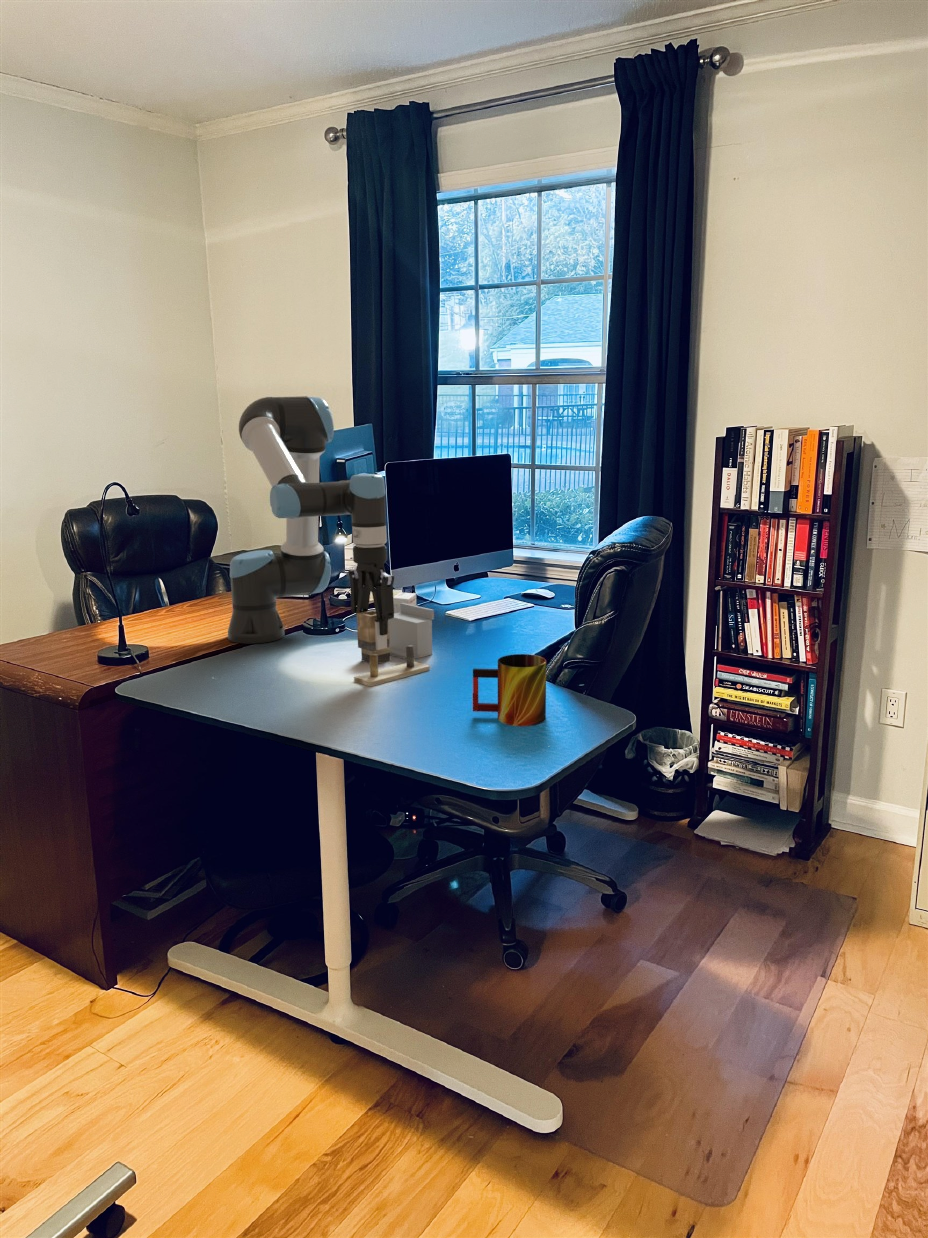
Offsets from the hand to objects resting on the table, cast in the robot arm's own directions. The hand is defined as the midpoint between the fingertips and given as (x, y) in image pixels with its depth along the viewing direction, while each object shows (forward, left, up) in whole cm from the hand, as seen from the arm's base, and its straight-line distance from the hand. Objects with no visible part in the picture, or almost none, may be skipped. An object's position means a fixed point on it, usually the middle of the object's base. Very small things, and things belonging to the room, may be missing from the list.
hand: (373, 646), depth 204 cm
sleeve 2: (-13, +11, -8) cm, 19 cm away
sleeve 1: (0, 0, 0) cm, 0 cm away
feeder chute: (-13, +21, -8) cm, 26 cm away
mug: (+40, +3, -8) cm, 41 cm away
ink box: (-25, +31, -8) cm, 41 cm away
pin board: (0, +6, -8) cm, 10 cm away
